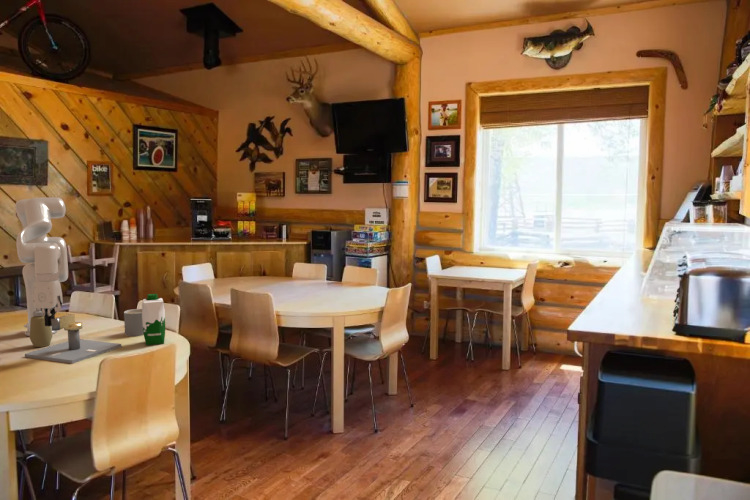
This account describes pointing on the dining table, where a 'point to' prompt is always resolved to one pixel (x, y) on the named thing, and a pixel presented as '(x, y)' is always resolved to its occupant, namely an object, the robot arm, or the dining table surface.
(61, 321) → the tan piece
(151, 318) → the milk carton
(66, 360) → the post base
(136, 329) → the coffee mug
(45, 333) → the squeeze bottle
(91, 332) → the dining table surface
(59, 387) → the dining table surface
